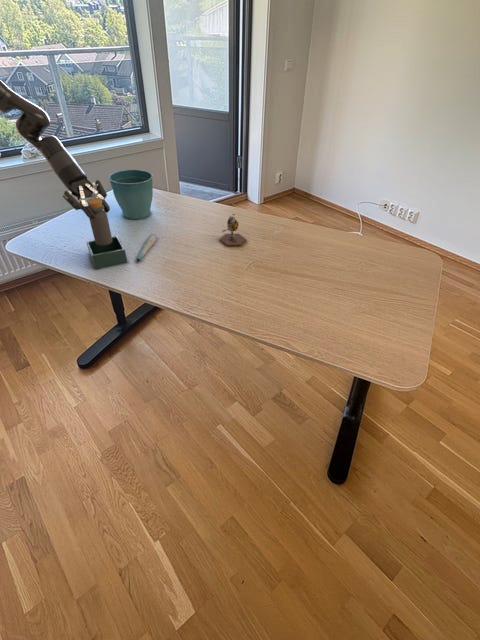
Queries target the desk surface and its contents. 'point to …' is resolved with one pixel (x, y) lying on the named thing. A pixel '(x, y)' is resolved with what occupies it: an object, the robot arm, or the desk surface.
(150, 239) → the pen
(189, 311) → the desk surface
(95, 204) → the bottle
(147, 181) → the flower pot
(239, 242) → the brown figurine on base
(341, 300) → the desk surface
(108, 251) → the green open box
